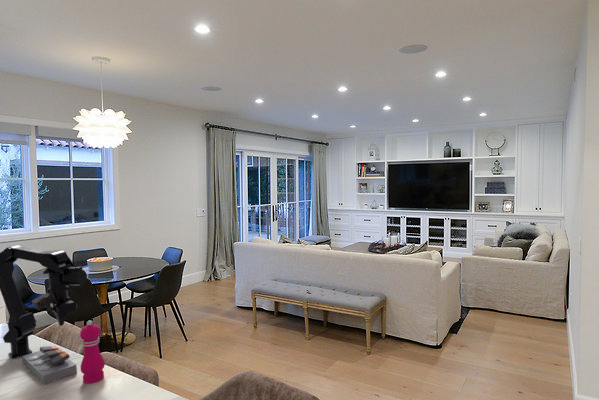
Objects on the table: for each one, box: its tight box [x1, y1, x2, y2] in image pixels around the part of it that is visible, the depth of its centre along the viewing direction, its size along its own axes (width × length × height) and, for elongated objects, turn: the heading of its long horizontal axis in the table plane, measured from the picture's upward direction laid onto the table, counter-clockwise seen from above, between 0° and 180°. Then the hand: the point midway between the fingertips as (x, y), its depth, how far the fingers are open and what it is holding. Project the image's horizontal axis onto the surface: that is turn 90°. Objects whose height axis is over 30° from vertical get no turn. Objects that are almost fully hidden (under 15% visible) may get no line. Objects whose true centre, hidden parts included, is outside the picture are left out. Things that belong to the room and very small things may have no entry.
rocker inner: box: [39, 345, 60, 353], centre depth 149 cm, size 4×5×2 cm
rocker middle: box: [45, 348, 65, 359], centre depth 145 cm, size 4×5×2 cm
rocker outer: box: [50, 351, 71, 366], centre depth 141 cm, size 4×5×2 cm
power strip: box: [21, 350, 78, 386], centre depth 143 cm, size 24×10×3 cm, turn 49°
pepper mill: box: [79, 320, 106, 384], centre depth 134 cm, size 7×7×20 cm
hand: (61, 325), depth 152 cm, fingers closed
